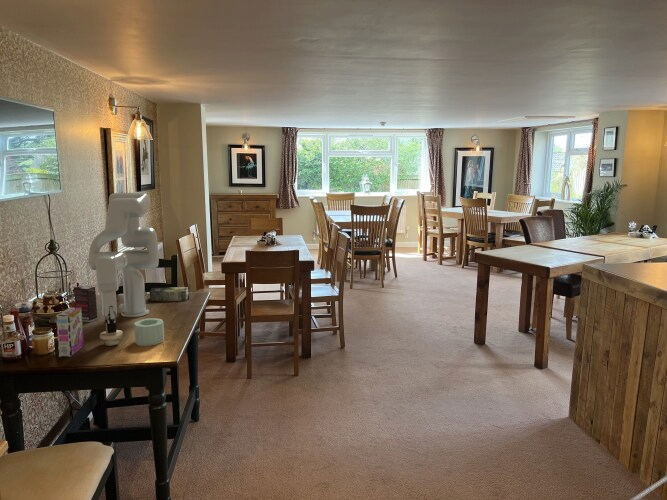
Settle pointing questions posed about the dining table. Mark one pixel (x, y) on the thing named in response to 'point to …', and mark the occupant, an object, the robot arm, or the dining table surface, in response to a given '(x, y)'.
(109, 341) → the stopper
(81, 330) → the candy bar box
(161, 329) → the canister
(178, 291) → the juice carton
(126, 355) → the dining table surface
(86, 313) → the supplement box
